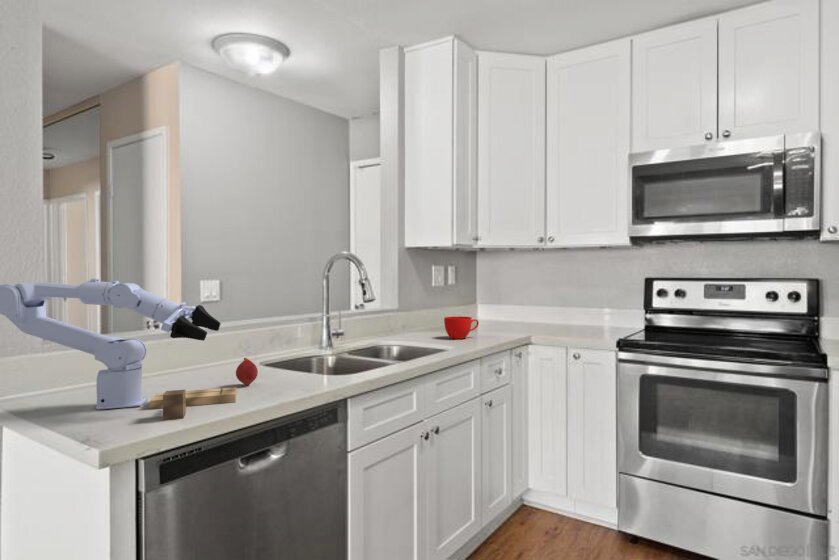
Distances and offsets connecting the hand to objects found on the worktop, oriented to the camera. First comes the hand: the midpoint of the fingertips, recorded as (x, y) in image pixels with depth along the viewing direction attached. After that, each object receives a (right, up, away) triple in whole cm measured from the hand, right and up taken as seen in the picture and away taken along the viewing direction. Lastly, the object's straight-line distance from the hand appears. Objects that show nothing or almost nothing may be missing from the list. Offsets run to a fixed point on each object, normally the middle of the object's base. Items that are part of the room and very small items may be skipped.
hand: (212, 331), depth 126 cm
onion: (+2, -17, +19) cm, 26 cm away
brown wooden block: (-4, -18, -9) cm, 21 cm away
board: (-5, -18, +1) cm, 18 cm away
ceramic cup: (+71, -15, +117) cm, 138 cm away
